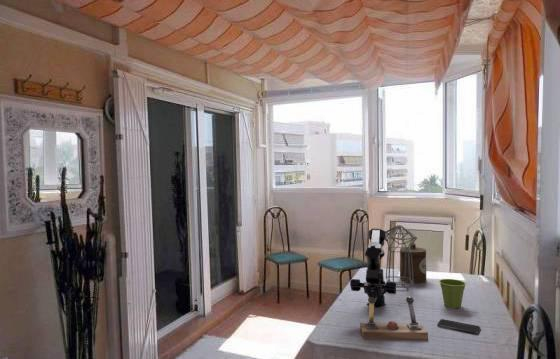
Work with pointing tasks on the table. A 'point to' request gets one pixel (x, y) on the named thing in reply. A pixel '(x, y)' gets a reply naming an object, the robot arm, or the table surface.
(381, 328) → the switch panel
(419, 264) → the wooden container
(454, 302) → the plant pot
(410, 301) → the graphite lever
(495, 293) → the table surface
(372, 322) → the dark gray metal lever
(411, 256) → the geometric lantern
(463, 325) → the phone
